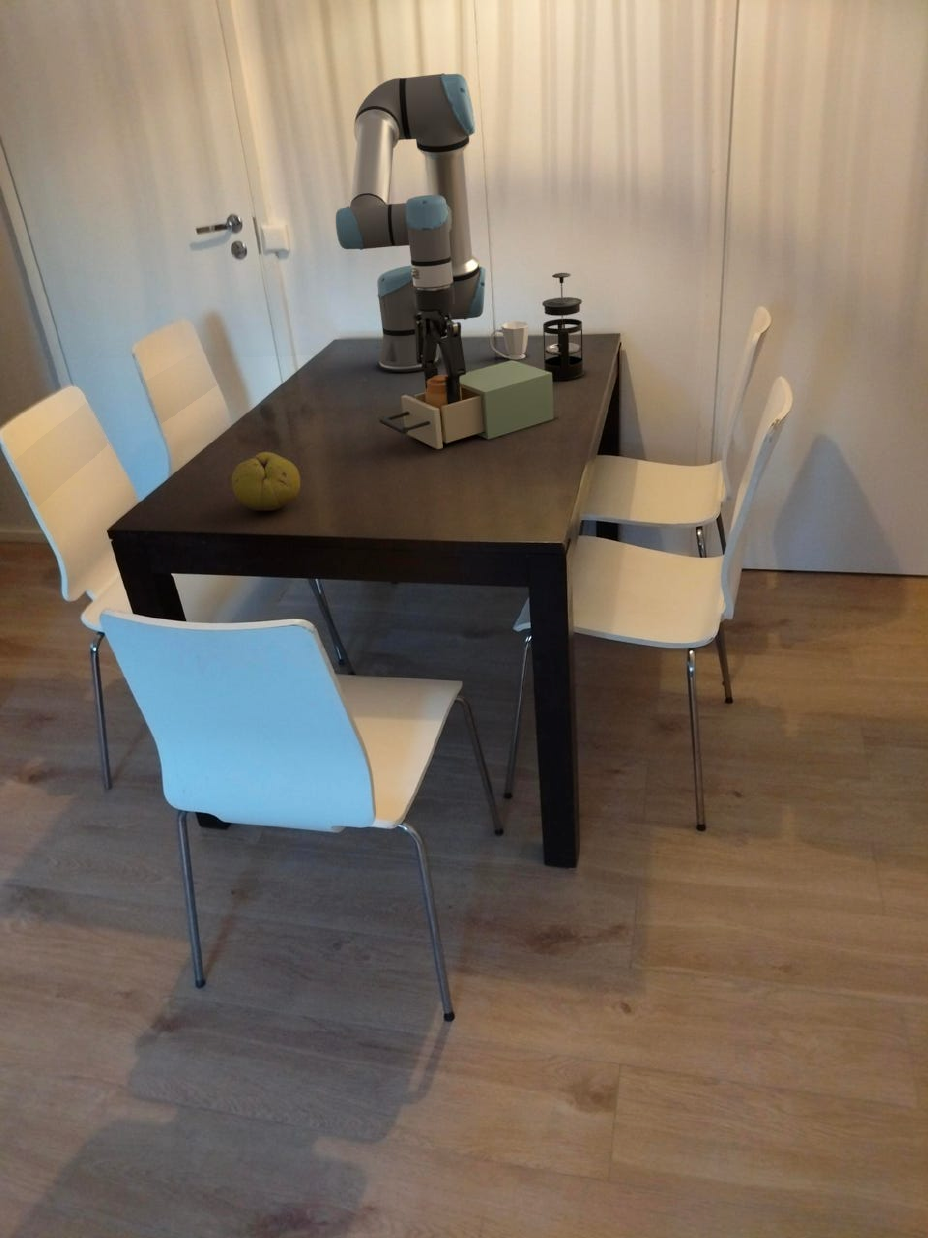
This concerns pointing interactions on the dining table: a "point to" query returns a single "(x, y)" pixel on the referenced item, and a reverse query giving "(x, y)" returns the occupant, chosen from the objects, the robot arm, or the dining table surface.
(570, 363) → the french press
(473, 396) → the drawer
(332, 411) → the dining table surface
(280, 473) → the fruit
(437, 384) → the stepped orange cylinder
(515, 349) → the cup
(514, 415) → the cabinet
